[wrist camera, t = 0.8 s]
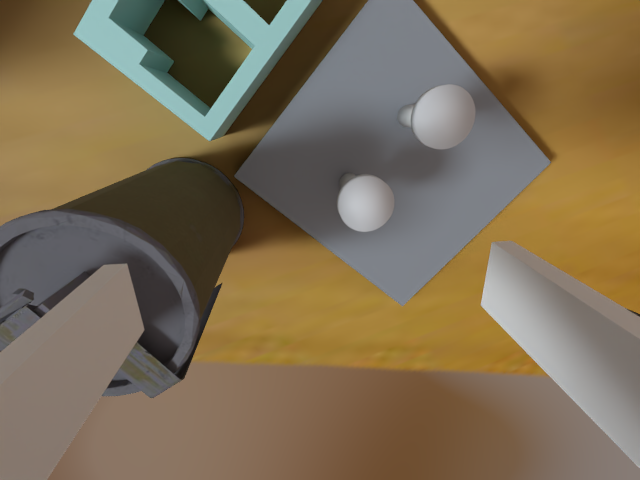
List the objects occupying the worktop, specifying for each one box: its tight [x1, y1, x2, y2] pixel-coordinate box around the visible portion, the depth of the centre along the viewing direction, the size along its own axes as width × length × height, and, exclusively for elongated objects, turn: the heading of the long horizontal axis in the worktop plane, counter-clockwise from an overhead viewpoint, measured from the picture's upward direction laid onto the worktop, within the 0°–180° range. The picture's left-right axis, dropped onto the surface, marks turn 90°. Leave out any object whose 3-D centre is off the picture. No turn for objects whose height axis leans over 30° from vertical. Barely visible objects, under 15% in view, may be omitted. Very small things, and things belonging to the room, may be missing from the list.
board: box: [234, 0, 551, 306], centre depth 28 cm, size 22×20×9 cm
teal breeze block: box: [74, 0, 323, 141], centre depth 24 cm, size 10×16×6 cm, turn 139°
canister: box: [0, 158, 244, 398], centre depth 23 cm, size 11×10×20 cm
